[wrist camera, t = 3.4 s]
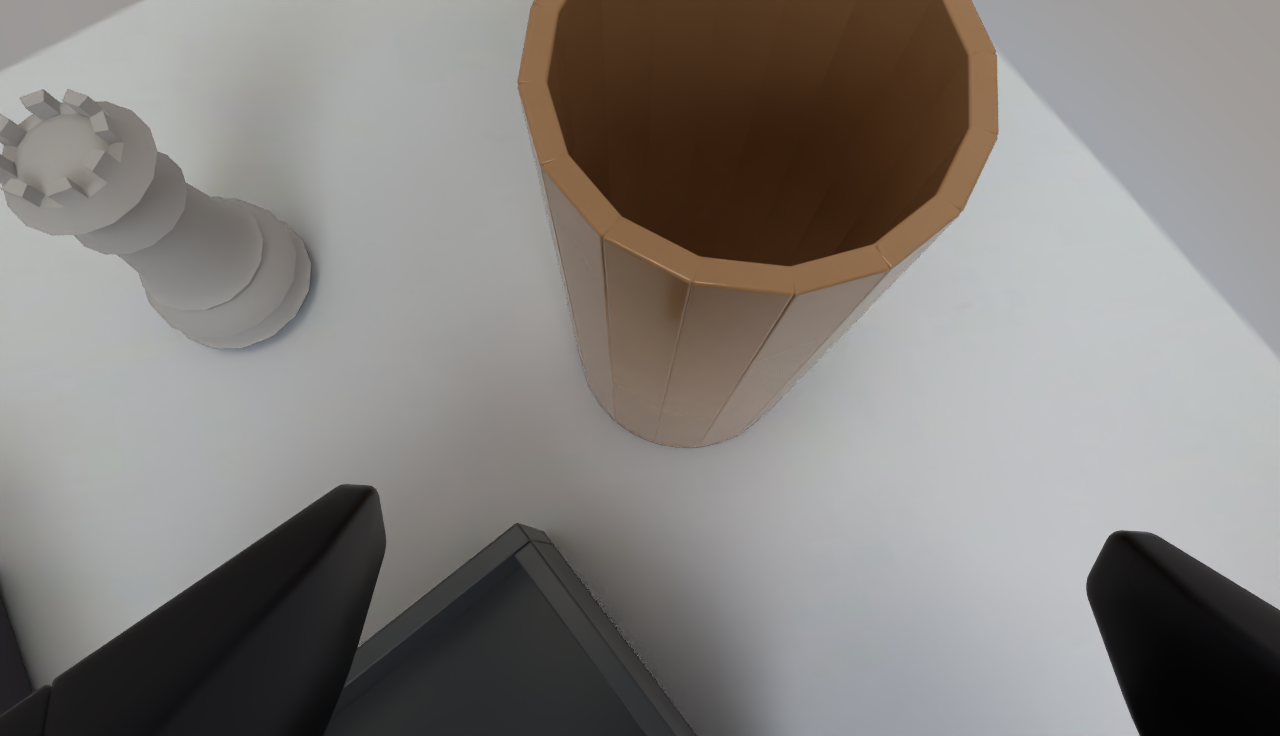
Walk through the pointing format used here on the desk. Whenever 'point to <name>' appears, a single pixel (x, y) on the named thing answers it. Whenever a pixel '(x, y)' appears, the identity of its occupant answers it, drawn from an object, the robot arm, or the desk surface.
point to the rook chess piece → (152, 220)
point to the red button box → (10, 667)
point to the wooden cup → (743, 183)
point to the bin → (504, 658)
